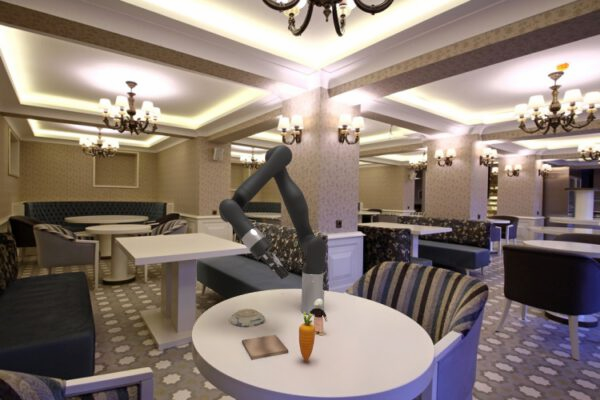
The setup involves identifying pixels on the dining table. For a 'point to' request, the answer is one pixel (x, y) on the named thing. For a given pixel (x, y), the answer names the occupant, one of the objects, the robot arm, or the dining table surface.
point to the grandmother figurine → (318, 317)
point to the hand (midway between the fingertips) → (285, 276)
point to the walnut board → (264, 346)
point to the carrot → (306, 337)
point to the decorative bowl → (247, 318)
